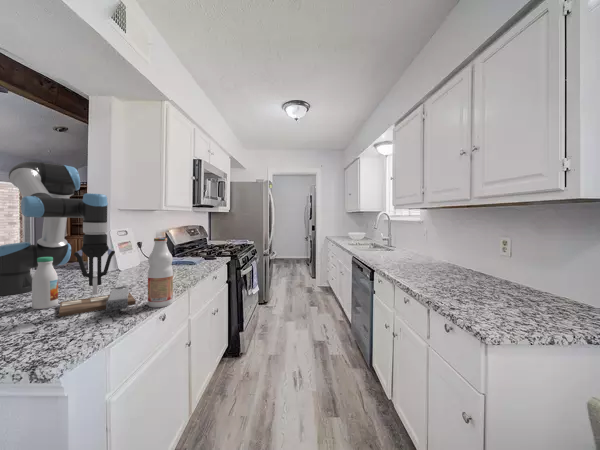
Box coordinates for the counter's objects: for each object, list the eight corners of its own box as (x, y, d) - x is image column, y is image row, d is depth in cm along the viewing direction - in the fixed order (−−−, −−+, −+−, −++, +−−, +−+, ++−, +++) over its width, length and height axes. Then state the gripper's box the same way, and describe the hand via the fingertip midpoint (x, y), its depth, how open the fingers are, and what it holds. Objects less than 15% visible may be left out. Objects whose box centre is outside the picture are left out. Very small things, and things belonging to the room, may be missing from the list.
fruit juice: (157, 309, 107) (157, 239, 106) (142, 305, 111) (142, 238, 110) (177, 303, 115) (178, 237, 115) (163, 299, 119) (163, 237, 119)
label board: (60, 305, 110) (60, 301, 110) (129, 295, 125) (129, 291, 125) (59, 316, 98) (59, 311, 98) (135, 304, 113) (135, 299, 113)
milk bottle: (42, 310, 104) (41, 259, 104) (26, 309, 106) (26, 258, 105) (63, 304, 112) (63, 256, 111) (48, 303, 113) (48, 255, 113)
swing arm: (112, 294, 119) (112, 287, 119) (129, 292, 123) (129, 285, 123) (106, 310, 98) (106, 302, 98) (127, 308, 102) (127, 299, 102)
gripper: (115, 232, 111) (115, 289, 112) (74, 233, 104) (74, 293, 105) (115, 233, 105) (115, 293, 106) (72, 234, 98) (72, 298, 98)
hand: (95, 293), depth 105 cm, fingers closed
